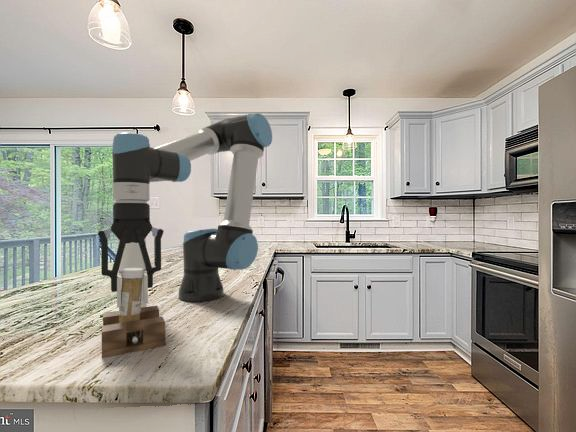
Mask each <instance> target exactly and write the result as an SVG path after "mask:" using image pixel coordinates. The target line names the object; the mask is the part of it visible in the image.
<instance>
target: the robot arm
mask: <svg viewBox="0 0 576 432" xmlns="http://www.w3.org/2000/svg"><path fill="white" fill-rule="evenodd" d="M272 142H273V132H272V127H271V126H270V123H269V120H268V119H267V118H266V116H264V115H263V114H262V113H259V112H257V113H248V114H245V115H239V116H235V117H227V118H224V119H222V120H219V121H217V122H214V123H212V124H210V125H208V126H206V127H202V128H200V129H199V130H198V132H196V133H195V134H194V133H193V134H191V135H189V136H185V137H183V138H180V139H176V140H174V141H171V142H166V143H165V144H161V145H160V146H156V147H150V146H151V144H150V139H149V137H148V136H146V135H144V134H140V133H135V132H120V133H117V134H115V135H114V136H113V141H112V150H111V151H112V152H111V154H112V179H113V180H112V200H113V201H114V202H115V203H113V205H112V217H113V218H112V220H113V221H112V224H111V226H110V228H109V227H108V228H106V229H104V230H99V231H98V233H97V235H98V237H99V240H100V244H101V245H100V248H101V250H100V251H101V253H100V255H101V257H100V258H101V263H100V264H101V271H100V273H101V275H102V276H103V277H104V276H105V277H106V276H107V277H109V278H110V282H111V283H110V290H111V292H112V293H113V292H114V293H115V292H116V307H117V308H119V307H121V276H118V272H119V271H118V270H119V267H120V263H121V259H122V255H123V252H124V248H125V245H126V243H132V242H133V243H139V247H140V250H141V254H142V257H143V261H144V264H145V268H146V273H145V274H144V277H143V301H144V304H149V295H148V294H149V289H151V288H153V286H154V279H153V278H154V273H157V272H160V271H161V270H162V237H163V235H164V231H165V230H164V229H162V228H157V227H153V225H152V224H151V221H150V220H151V219H150V218H151V217H150V216H151V214H150V213H151V209H150V207H151V206H150V203H148V202H149V201H150V183H155V182H173V183H180V182H181V183H182V182H185V181H187V179H189V177H190V175H191V173H192V163H191V162H192V161H194V160H196V159H198V158H201V157H203V156H205V155H209V156H211V155H214V154H218V153H222V152H231V153H232V155H233V158H232V164H231V170H230V176H229V177H230V178H229V183H228V188H227V189H228V190H227V198H226V203H225V209H224V215H223V221H222V222H221V223H220V224H218V225H217V228H206V229H197V230H189V231H186V232H185V233H184V234H183V242H182V247H183V249H182V250H183V255H182V256H183V276H182V280H181V282H180V283H181V284H180V286H179V289H178V299H179V300H181V301H185V302H205V301H212V300H217V299H220V298H222V297H223V296H224V286H223V283H222V280H221V278H220V274H219V269H224V270H225V269H227V270H233V271H236V270H238V271H239V270H241V271H242V270H245V269H248V268H249V267H250V266H251V265H253V263H254V262H255V260H256V258H257V255H258V251H259V244H258V239H257V237H256V236H255V235H254V233H253V232H254V230H253V228H252V226H250V221H251V213H252V206H253V200H254V191H255V186H256V179H257V178H256V177H257V171H258V162H259V159H260V158H262V157H263V156H264V151H265V148H268V147H269V146H270V145H271V144H272ZM150 233H152V236H153V237H154V241H153V243H154V244H153V246H154V249H153V250H154V254H153V255H154V256H153V257H154V260H153V261H154V264H153V266H152V263H151V259H150V256H149V252H148V249H147V243H146V244H145V241H144V239H145V238H146V239H147V237H148V236H149V234H150ZM111 234H113V235H115V237H116V238H117V240H118V239H119V240H120V242H119V245H118V244H117V246H118V247H117V249H116V254H115V256H114V260H113V264H112V269H109V254H108V253H109V239H110V238H111Z"/></svg>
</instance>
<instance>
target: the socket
mask: <svg viewBox="0 0 576 432" xmlns="http://www.w3.org/2000/svg"><path fill="white" fill-rule="evenodd" d="M102 314H103V315H102V326H101V358H108V357H113V356H118V355H122V354H128V353H132V352H137V351H143V350H146V349H147V350H148V349H152V348H157V347H163V346H166V321H165V319H164V317H163V316H160V308H159V306H158V305H150V306H147V307H142V308H141V310H140V320H137V321H131V322H124V323H119V315H120V314H119V310H115V311H113V310H112V311H107V312H103V313H102ZM134 331H140V334H139V336H138V337H137V338H138V342H137V343H135V344H134V343H133V341H132V339H131V338H129V336H128V333H129V332H134Z"/></svg>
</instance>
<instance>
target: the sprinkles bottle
mask: <svg viewBox="0 0 576 432" xmlns="http://www.w3.org/2000/svg"><path fill="white" fill-rule="evenodd" d="M143 277H144V269H142V268H125V269H123V270H122V288H121V307H120V310H119V309H118V311H119V314H120V315H119V323H124V322H131V321H137V320H140V310H141V296H142V279H143Z"/></svg>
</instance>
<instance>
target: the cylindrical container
mask: <svg viewBox="0 0 576 432" xmlns="http://www.w3.org/2000/svg"><path fill="white" fill-rule="evenodd" d="M144 241H145V244H146V245H147V237H146V238H145V239H144ZM119 242H120V240H119V239H118V238H117V246H118V245H119ZM125 268H142V269H144V274H145V273H147V271H146V268H145V264H144V261H143V257H142V254H141V250H140V247H139V243H133V242H132V243H126V245H125V248H124V252H123V255H122V259H121V263H120V267H119V270H118V274H117V276H121V288H122V270H123V269H125ZM147 304H148V303H147ZM147 304H144V301H143V279H142V296H141V308H142V307H148V305H147ZM119 310H120V307H118V311H119Z"/></svg>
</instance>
